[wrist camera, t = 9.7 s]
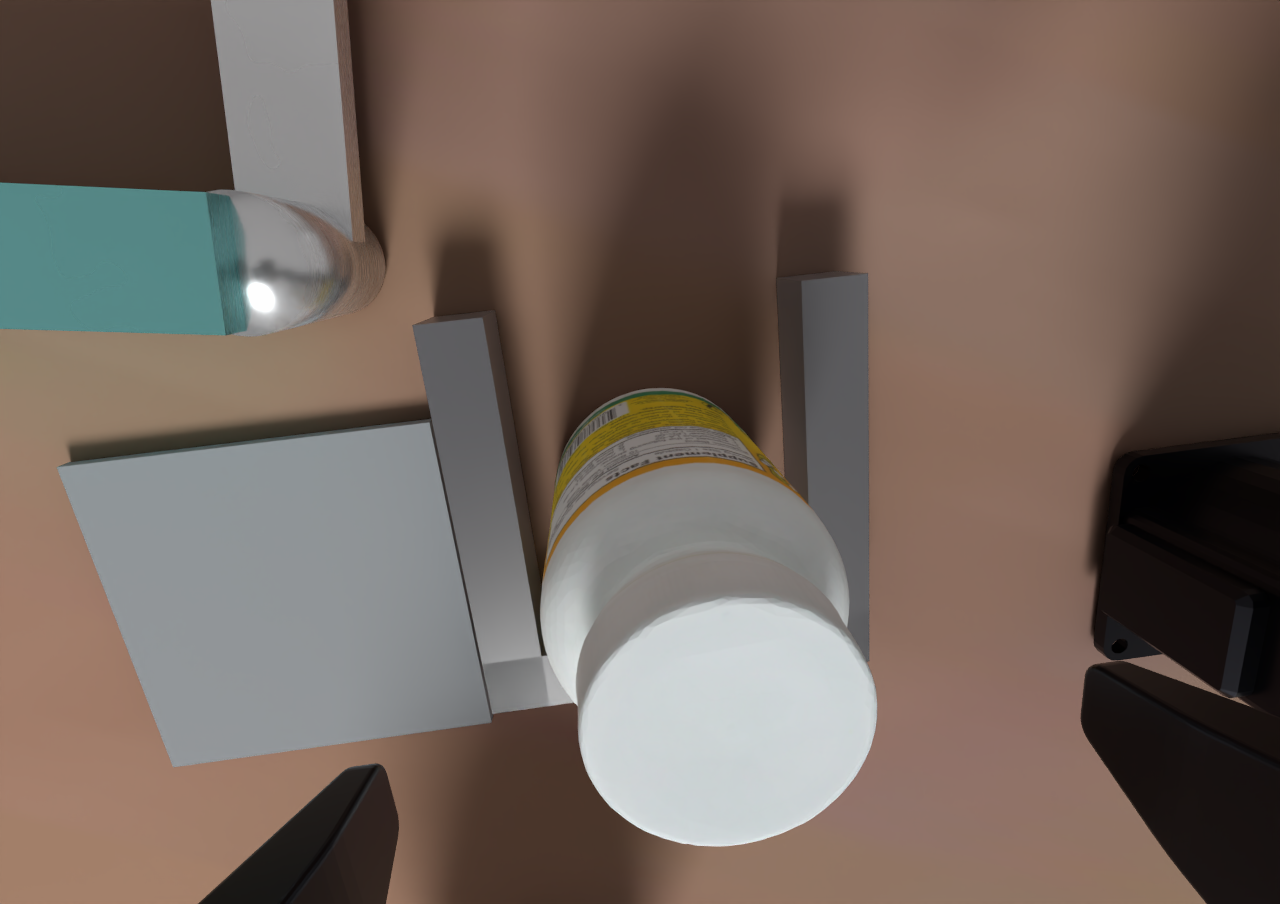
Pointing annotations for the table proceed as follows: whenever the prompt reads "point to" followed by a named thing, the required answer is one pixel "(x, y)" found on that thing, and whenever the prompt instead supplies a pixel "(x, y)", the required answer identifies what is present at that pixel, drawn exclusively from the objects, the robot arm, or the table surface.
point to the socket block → (495, 493)
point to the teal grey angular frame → (216, 206)
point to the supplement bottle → (700, 626)
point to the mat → (286, 589)
